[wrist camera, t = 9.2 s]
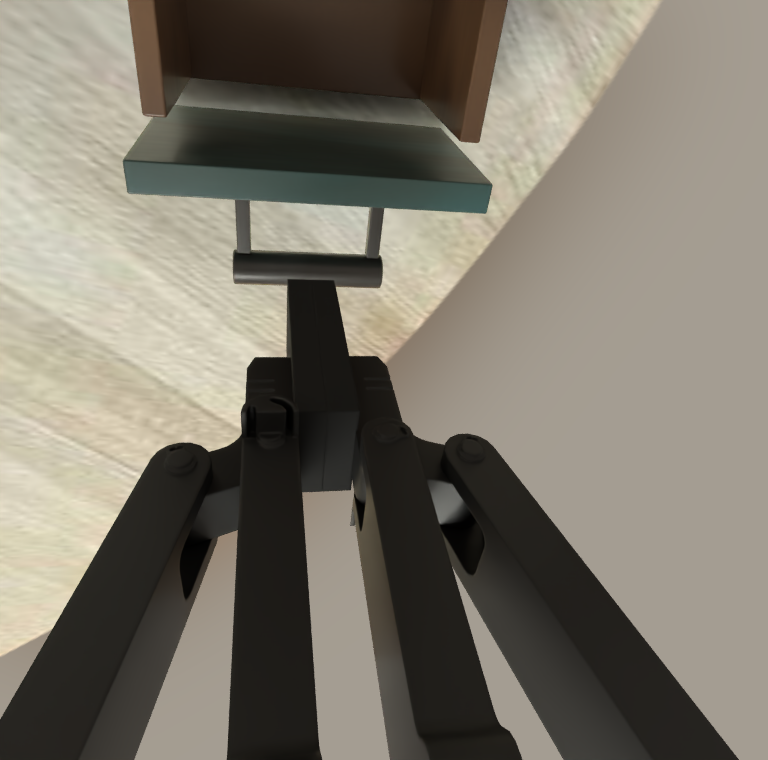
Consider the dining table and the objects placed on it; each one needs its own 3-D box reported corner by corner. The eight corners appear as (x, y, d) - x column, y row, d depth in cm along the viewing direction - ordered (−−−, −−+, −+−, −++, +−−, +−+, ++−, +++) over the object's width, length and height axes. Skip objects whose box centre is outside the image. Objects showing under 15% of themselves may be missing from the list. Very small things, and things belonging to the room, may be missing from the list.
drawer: (421, 247, 33) (461, 328, 26) (176, 237, 30) (147, 323, 24) (515, -334, 20) (643, -485, 13) (102, -438, 18) (-12, -692, 11)
